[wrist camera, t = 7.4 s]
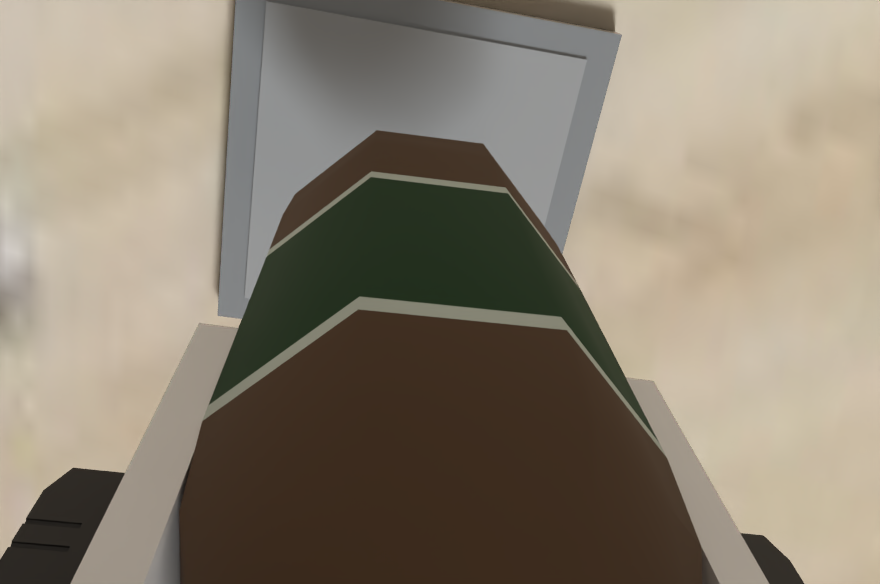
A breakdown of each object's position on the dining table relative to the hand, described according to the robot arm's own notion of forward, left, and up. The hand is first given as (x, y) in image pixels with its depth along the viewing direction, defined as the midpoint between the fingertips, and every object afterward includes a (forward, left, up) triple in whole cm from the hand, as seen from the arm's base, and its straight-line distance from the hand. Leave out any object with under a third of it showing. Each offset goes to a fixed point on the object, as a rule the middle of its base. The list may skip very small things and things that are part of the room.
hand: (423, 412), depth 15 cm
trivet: (0, 0, -15) cm, 15 cm away
